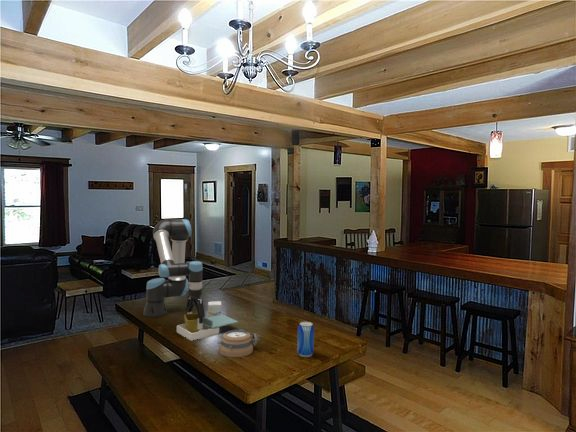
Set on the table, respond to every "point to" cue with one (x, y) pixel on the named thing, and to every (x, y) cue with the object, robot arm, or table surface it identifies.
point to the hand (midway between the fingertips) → (194, 326)
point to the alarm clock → (237, 343)
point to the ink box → (214, 308)
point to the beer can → (305, 339)
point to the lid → (218, 321)
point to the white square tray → (202, 333)
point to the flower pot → (191, 322)
